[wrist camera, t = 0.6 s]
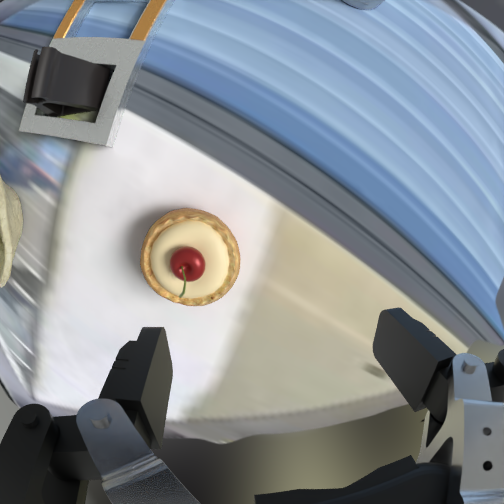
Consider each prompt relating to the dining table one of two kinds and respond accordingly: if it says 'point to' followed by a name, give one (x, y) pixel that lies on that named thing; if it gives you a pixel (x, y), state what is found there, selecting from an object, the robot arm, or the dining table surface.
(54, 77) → the phone stand
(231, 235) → the pastry
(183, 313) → the dining table surface
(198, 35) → the dining table surface
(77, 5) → the white slotted tray
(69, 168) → the dining table surface
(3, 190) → the bowl
